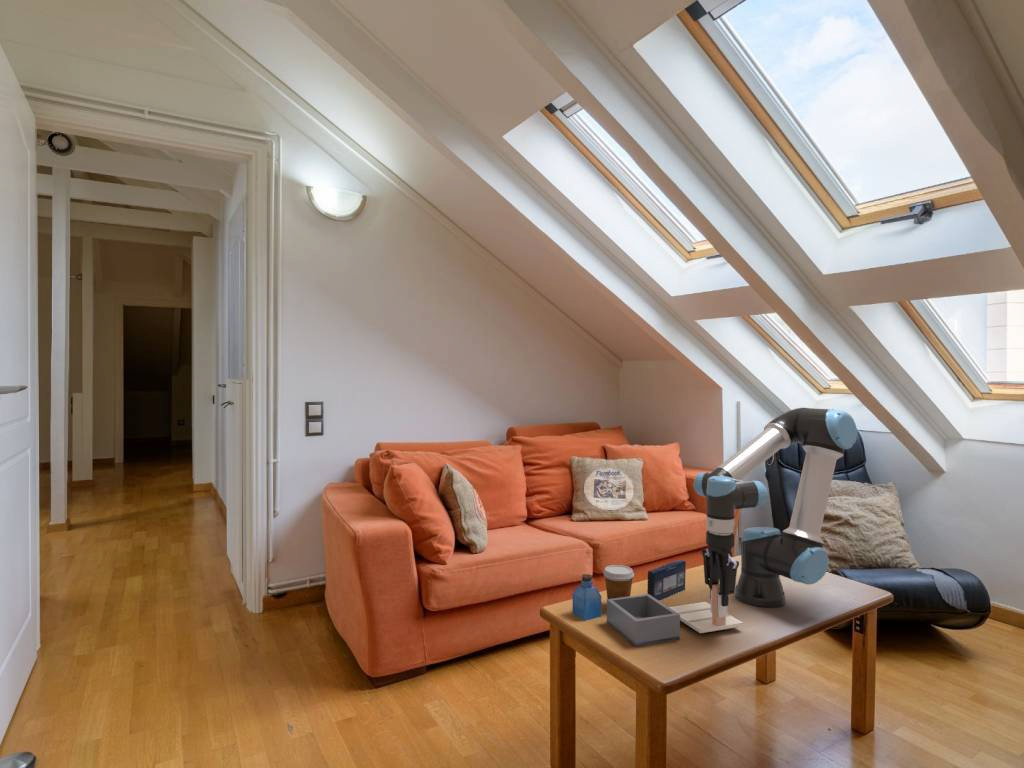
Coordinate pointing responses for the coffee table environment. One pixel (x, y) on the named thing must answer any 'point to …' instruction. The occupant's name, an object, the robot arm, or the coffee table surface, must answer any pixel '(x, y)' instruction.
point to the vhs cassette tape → (667, 580)
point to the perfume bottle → (586, 599)
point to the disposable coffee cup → (618, 581)
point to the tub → (643, 620)
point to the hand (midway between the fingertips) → (718, 614)
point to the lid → (706, 615)
